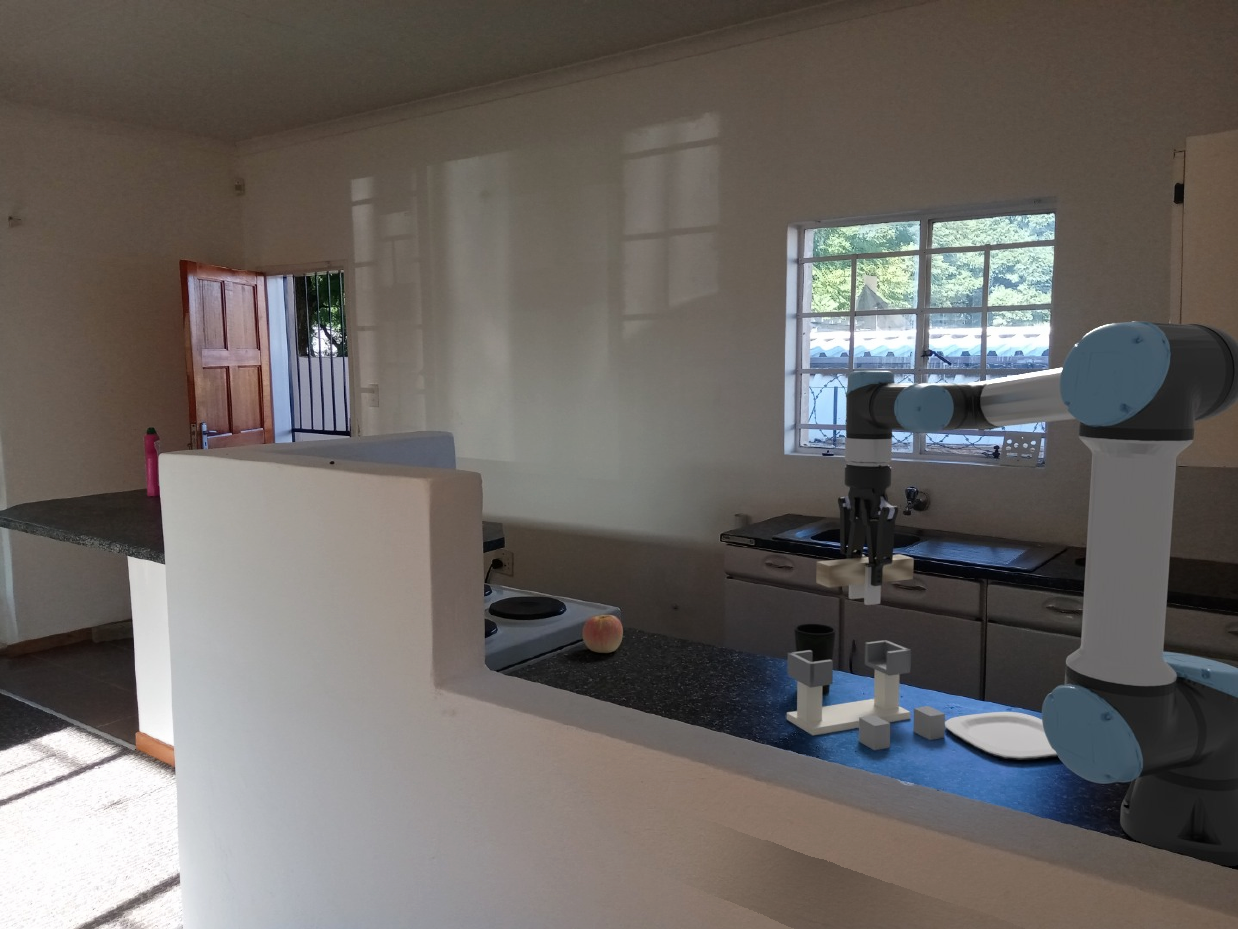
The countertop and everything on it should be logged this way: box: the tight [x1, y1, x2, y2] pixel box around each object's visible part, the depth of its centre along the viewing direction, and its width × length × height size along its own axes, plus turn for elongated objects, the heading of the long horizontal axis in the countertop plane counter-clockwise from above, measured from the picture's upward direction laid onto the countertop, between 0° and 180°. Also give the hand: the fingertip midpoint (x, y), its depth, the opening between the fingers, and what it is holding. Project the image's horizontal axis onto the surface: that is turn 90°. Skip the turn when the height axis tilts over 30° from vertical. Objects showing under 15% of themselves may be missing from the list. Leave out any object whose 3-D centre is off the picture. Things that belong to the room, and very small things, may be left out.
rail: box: [815, 553, 915, 588], centre depth 152 cm, size 17×4×4 cm, turn 111°
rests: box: [858, 705, 946, 751], centre depth 148 cm, size 4×14×4 cm, turn 112°
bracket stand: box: [786, 639, 912, 736], centre depth 156 cm, size 8×21×12 cm, turn 112°
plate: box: [945, 711, 1058, 761], centre depth 147 cm, size 18×18×2 cm
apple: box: [582, 614, 624, 654], centre depth 198 cm, size 9×9×8 cm
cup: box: [793, 623, 837, 696], centre depth 171 cm, size 8×8×12 cm
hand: (864, 600), depth 153 cm, fingers closed on rail, 4 cm apart
